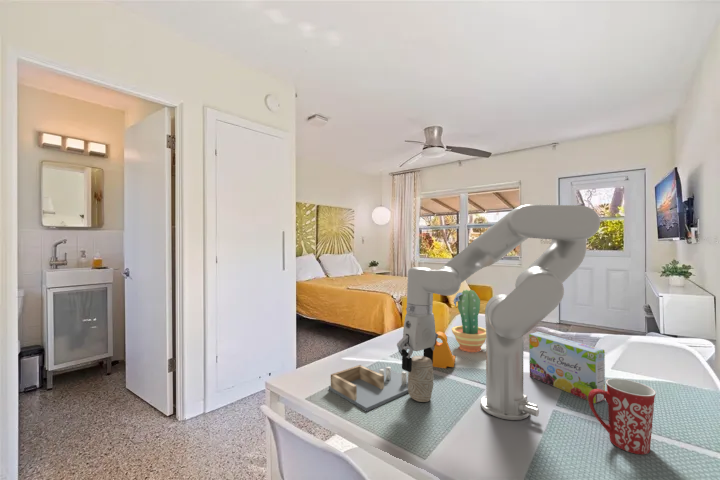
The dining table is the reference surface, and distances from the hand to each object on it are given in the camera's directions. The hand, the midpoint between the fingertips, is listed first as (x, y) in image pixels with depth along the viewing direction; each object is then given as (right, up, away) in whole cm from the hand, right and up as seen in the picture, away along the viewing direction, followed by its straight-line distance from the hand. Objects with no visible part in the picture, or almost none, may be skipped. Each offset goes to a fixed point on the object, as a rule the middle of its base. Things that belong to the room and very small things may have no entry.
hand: (417, 366), depth 100 cm
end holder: (-18, -9, +5) cm, 20 cm away
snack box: (+48, -10, +7) cm, 49 cm away
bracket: (+13, -10, +27) cm, 32 cm away
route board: (-12, -10, +7) cm, 17 cm away
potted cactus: (+30, -9, +44) cm, 54 cm away
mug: (+43, -10, -22) cm, 49 cm away
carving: (+1, -10, 0) cm, 10 cm away
